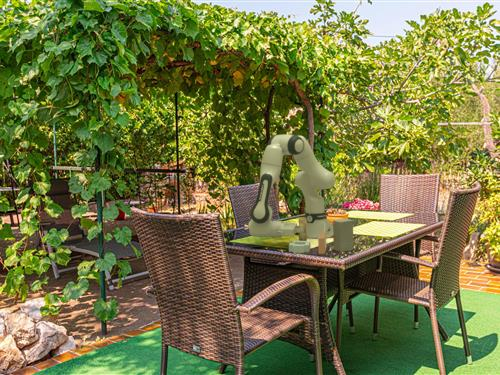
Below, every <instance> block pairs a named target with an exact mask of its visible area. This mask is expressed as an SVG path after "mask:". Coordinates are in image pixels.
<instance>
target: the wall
mask: <svg viewBox="0 0 500 375" xmlns="http://www.w3.org/2000/svg"><path fill="white" fill-rule="evenodd" d="M317 241H318V242H317V243H318V244H317V245H318V246H317V247H318V251H317V252H318V255H326V250H327V238H326V232H320V235H319V238H317Z"/></svg>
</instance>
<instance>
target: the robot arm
mask: <svg viewBox="0 0 500 375" xmlns="http://www.w3.org/2000/svg"><path fill="white" fill-rule="evenodd" d="M285 155H286V156H287V155H289V156H293V158H294V161H295V162H296V163H295V164H296V165H297V167H298V169H299V170H300V171H298V172H296V174H295V176H294V183H295V185H296V186H297V187H298V189H300V190H301V193H302V194H303V198H304V202H305V212H304V218H306V233H307V238H308V239H318V238H319V235H320V232H326V239H327V238H328V239H329V238H332V237H333V223H332V222H330V221H329V219H327V217H328V216H329V214H330V213H329V212H327V211H326V212H325V209H326V207H325V199H324V197H323V196H322V195H320V194H319V193H318V190H327V189H332V188H333V187H334V186H335V184H336V177H335V175H334V173H333V172H332V171H330V170H328V169H327V168H326V167H324V166H323V165H322V164H321V163H320V162H319V161H318V160H317V158H316V156H315V154H314V152H313V149H312V147H311V145H310V143H309V141H308V139H306V137H305V136H303V135H299V134H298V135H293V134H287V133H286V134H280V133H279V134H274V135H272V136H270V138H269V140H268V142H267V145H266V147H265V149H264V152H263V155H262V158H261V164H260V169H259V170H260V172H259V174H260V175H259V185H258V190H257V191H258V192H257V195H256V200H255V203H254V204H253V205H252V207H251V209H250V212H249V216H250V218H251V219H250V220H249V222H248V223H247V227H248V228H247V229H248V233H249V234H250V236H252V237H255V238H267V237H268V238H269V237H271V238H283V236H288V237H289V236H294V235H295V234H296V233H299V232H304V228H299V225H298V223H296V222H293V221H292V222H288V221H283V220H272V218H273V214H274V213H273V208H272V206H271V205H270V204H269V200H270V196H271V190H272V188H273V185H274V184H275V183H276V182H277V180H278V179H279V177H280V174H281V171H282V167H283V166H282V165H283V160H284V159H283V158H284V156H285Z"/></svg>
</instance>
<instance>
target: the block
mask: <svg viewBox="0 0 500 375" xmlns="http://www.w3.org/2000/svg"><path fill="white" fill-rule="evenodd" d="M310 251H311V241H307V242H306V241H299V240H293V241H292V240H291V241H290V242H289V244H288V252H289V253H294V254H305V253H310Z"/></svg>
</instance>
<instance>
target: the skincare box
mask: <svg viewBox="0 0 500 375" xmlns="http://www.w3.org/2000/svg"><path fill="white" fill-rule="evenodd" d="M332 225H333V236H332V237H333V238H332V239H333V251H337V252H339V253H345V252H350V251H351V252H352V251H354V220H353V219H350V218H341V219H334V220H332Z"/></svg>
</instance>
